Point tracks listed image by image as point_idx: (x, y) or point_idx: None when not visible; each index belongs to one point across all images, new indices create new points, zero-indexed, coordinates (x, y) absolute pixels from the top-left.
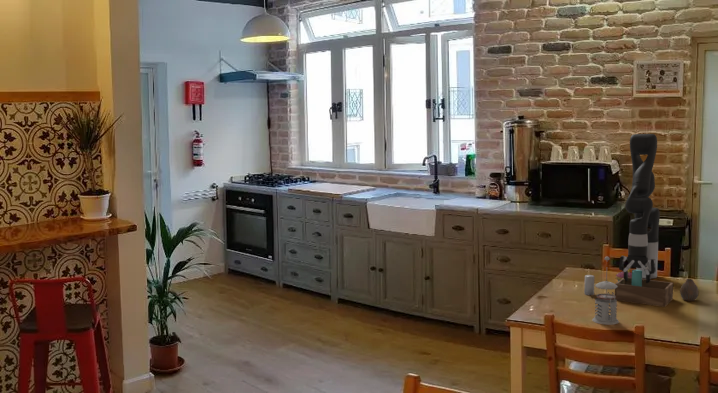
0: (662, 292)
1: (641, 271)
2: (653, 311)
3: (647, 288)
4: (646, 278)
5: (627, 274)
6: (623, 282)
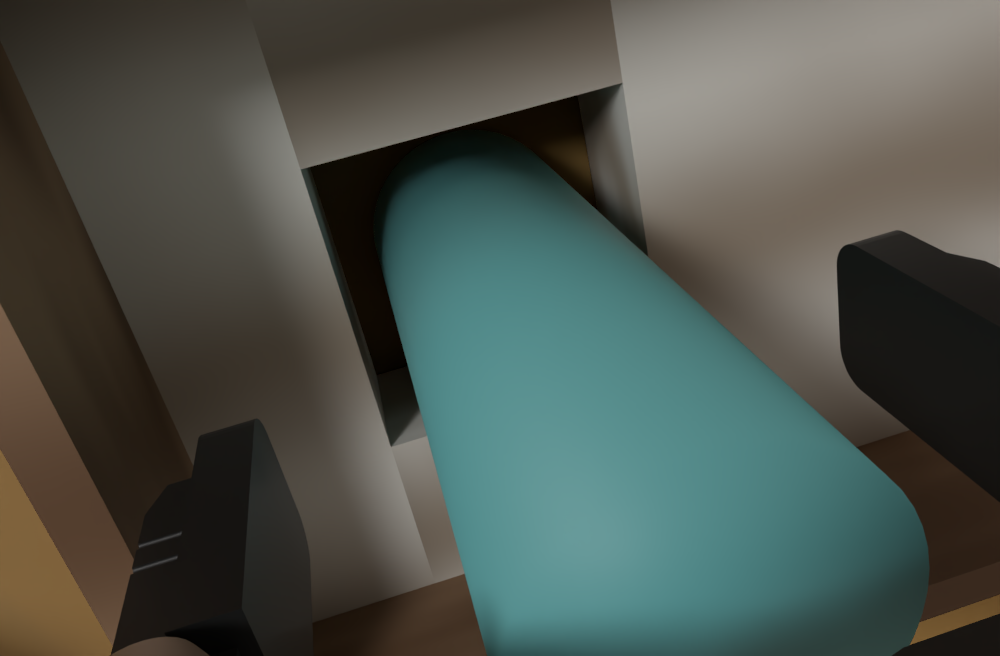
0: None
1: (914, 599)
2: (927, 619)
3: (938, 598)
4: (949, 445)
5: (280, 608)
6: (38, 271)
